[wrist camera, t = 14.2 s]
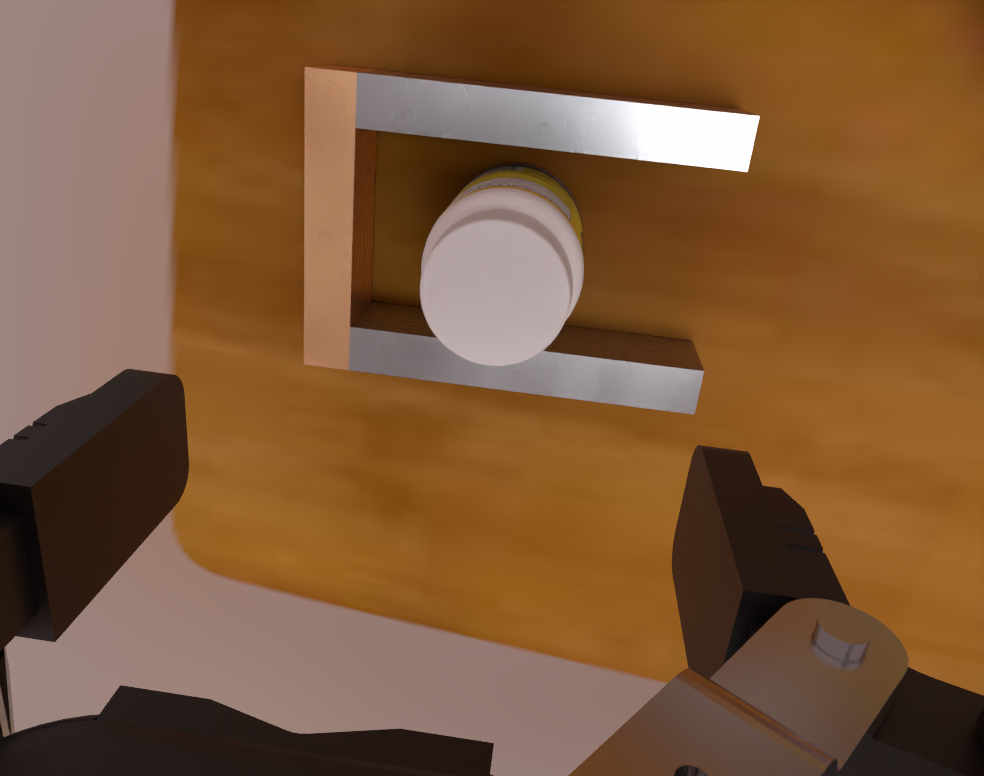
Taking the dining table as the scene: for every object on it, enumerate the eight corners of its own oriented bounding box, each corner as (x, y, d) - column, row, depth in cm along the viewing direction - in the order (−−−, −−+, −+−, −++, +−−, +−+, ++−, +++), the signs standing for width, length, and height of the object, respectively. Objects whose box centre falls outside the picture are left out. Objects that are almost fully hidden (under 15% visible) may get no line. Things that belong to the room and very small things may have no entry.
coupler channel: (332, 64, 27) (304, 66, 24) (740, 108, 26) (759, 116, 23) (328, 336, 31) (303, 364, 28) (683, 381, 30) (694, 414, 27)
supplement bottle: (542, 317, 30) (529, 411, 22) (428, 257, 29) (374, 332, 21) (608, 201, 28) (619, 260, 20) (487, 135, 27) (451, 169, 20)
